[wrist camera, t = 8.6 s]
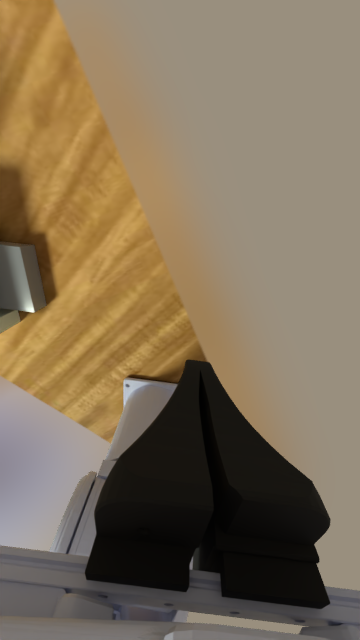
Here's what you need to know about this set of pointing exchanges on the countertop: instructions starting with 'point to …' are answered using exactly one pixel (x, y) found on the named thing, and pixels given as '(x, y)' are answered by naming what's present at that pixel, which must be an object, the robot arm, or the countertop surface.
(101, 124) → the countertop surface
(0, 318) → the shelf
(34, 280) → the slate tile
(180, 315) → the countertop surface
